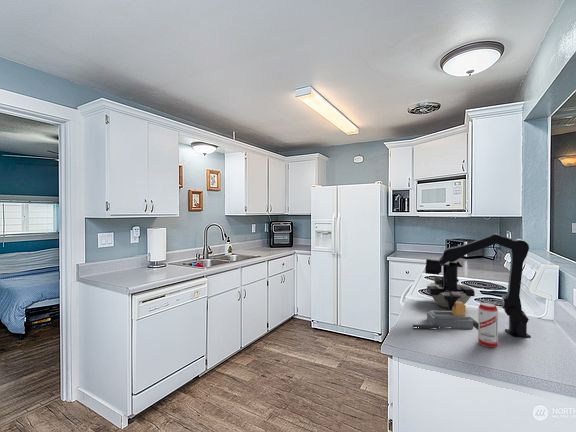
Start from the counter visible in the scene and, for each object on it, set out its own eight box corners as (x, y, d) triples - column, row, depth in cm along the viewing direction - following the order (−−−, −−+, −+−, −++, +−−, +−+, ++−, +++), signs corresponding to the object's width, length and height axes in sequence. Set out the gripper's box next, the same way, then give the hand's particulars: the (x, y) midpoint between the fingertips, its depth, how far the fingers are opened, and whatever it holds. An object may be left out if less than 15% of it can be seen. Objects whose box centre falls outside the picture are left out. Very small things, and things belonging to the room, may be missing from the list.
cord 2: (482, 329, 130) (482, 325, 130) (478, 328, 131) (478, 325, 131) (470, 319, 141) (470, 316, 141) (466, 319, 141) (467, 316, 141)
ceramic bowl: (470, 302, 165) (471, 284, 165) (477, 316, 144) (477, 296, 144) (426, 297, 175) (426, 280, 174) (426, 310, 154) (426, 291, 153)
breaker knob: (465, 317, 134) (465, 304, 134) (455, 317, 135) (455, 304, 134) (461, 313, 138) (461, 301, 138) (452, 313, 138) (452, 301, 138)
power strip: (473, 328, 131) (473, 318, 131) (434, 327, 133) (434, 317, 133) (462, 319, 141) (462, 310, 141) (427, 318, 143) (427, 309, 143)
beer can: (479, 339, 121) (479, 300, 120) (498, 344, 117) (498, 303, 116) (477, 345, 116) (477, 304, 115) (496, 350, 112) (497, 308, 111)
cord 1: (439, 329, 131) (439, 326, 130) (413, 329, 132) (413, 325, 132) (438, 328, 132) (438, 324, 132) (412, 327, 133) (412, 324, 133)
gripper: (464, 272, 143) (463, 304, 143) (423, 271, 145) (422, 303, 146) (475, 277, 132) (475, 312, 132) (431, 277, 134) (430, 311, 135)
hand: (449, 309), depth 137 cm, fingers closed
